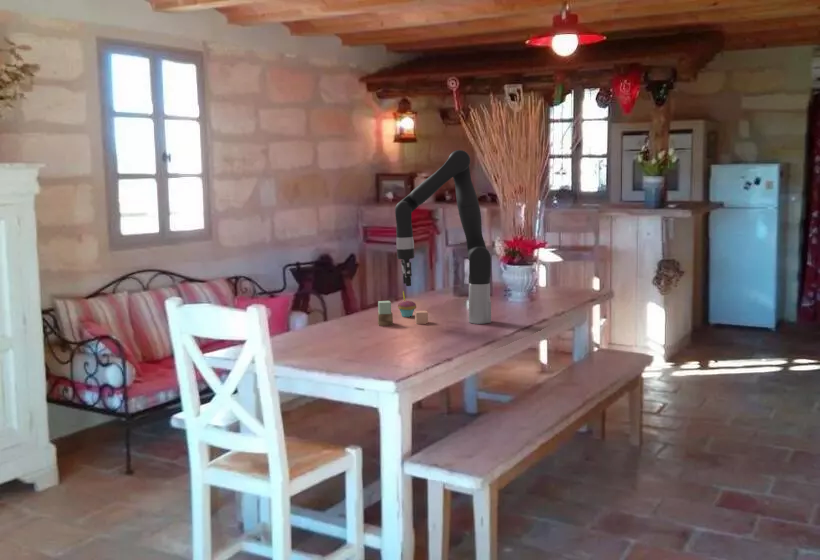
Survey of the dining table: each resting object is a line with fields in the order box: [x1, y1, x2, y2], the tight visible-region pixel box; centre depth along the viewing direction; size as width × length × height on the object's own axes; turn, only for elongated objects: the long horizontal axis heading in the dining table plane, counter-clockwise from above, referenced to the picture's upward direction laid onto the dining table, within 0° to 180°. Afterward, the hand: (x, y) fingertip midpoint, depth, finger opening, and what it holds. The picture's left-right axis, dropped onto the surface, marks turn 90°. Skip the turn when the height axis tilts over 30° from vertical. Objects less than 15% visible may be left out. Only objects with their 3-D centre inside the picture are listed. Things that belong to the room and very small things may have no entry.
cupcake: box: [397, 291, 417, 318], centre depth 393 cm, size 9×8×12 cm
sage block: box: [377, 300, 392, 314], centre depth 374 cm, size 5×5×5 cm
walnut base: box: [377, 311, 394, 327], centre depth 375 cm, size 6×6×5 cm
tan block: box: [414, 310, 429, 325], centre depth 377 cm, size 5×5×5 cm
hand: (407, 284), depth 374 cm, fingers open, 8 cm apart
